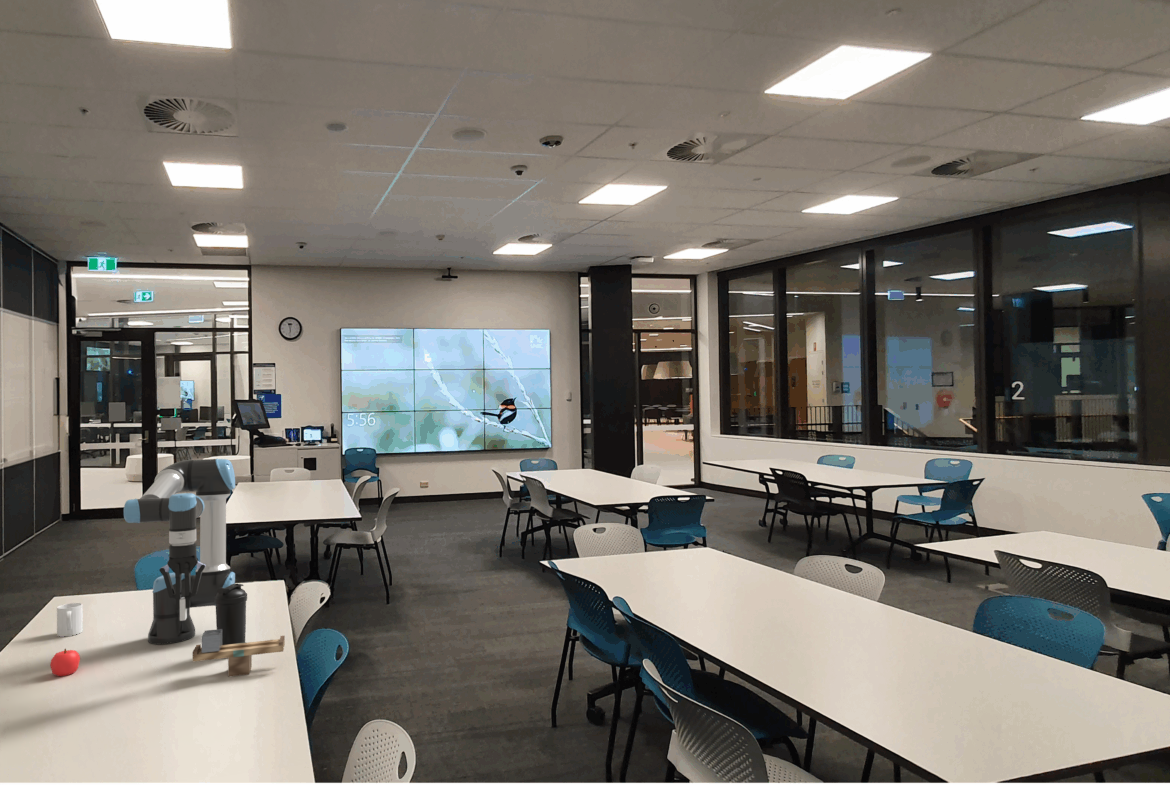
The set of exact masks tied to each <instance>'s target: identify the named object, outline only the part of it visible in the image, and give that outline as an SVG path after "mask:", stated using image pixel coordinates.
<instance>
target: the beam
mask: <svg viewBox="0 0 1170 785" xmlns="http://www.w3.org/2000/svg"><path fill="white" fill-rule="evenodd" d="M285 638H286V637H285V635H280V638H278V639H277V638H276V639H267V640H259V641H250V642H247V641H245V643H237V644H229V645H222V647H221V649H220V651H215V652H205V653H202V643H201V644H196V645H195V647H194V649H192V662H193V663H194V662H201V661H202V662H203V661H208V660H209V661H211V660H220V659H228V663H227V665H228V666H227V667H228V668H227V669H228V670H227V671H228V677H229V678H230V677H238V676H247V675H250V673H251V671H252V667H253V666H252V665H253V664H252V663H253V662H252V661H253V659H252V656H255V655H263V654H264V655H265V654H272V653H282V652H284V649H285V648H284V647H285V644H286V643H285V642H286V640H285Z"/></svg>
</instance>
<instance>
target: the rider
mask: <svg viewBox="0 0 1170 785" xmlns="http://www.w3.org/2000/svg"><path fill="white" fill-rule="evenodd" d="M201 647H202V653H205V652H215V651H220V649H221V647H222V629H217V628H216V629H208V630H204V632H203V634H202V636H201Z"/></svg>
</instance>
